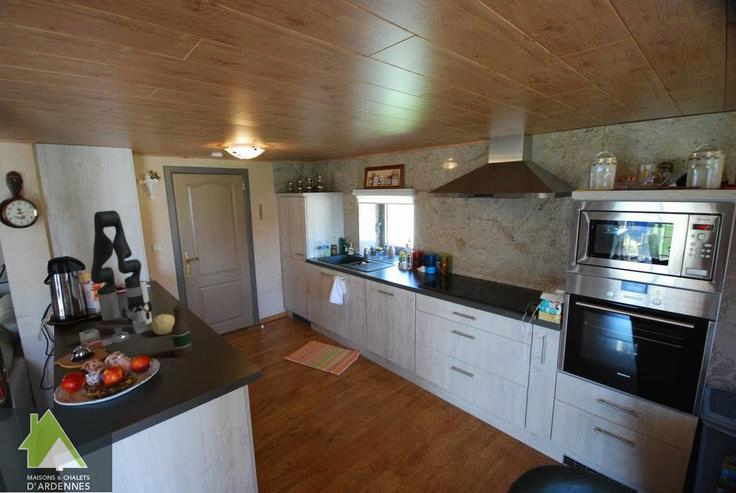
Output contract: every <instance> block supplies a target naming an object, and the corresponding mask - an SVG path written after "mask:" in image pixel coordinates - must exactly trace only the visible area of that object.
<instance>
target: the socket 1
mask: <svg viewBox="0 0 736 493" xmlns="http://www.w3.org/2000/svg"><path fill="white" fill-rule="evenodd" d="M78 334H79V339H80V346H81V345H84V344H88V343H91V342H94V341H98V340H101V336H100V332H99V329H95V328H89V329H86V330H83V331H81V332H79V333H78Z"/></svg>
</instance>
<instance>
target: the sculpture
mask: <svg viewBox="0 0 736 493" xmlns="http://www.w3.org/2000/svg"><path fill="white" fill-rule="evenodd" d="M174 321H175V319H174V315H171V314H165V313H161V314H158V315H157V316H155V317H154V318H152V322H151V327H152V328H151V329H152V331H153V333H155V334H156V335H159V336H165V335H168V334H170V333H172V326H173V325H174Z"/></svg>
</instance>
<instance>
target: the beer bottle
mask: <svg viewBox="0 0 736 493" xmlns="http://www.w3.org/2000/svg"><path fill="white" fill-rule="evenodd" d="M172 310H173V317H174V319H175V321H174V325H173V326H172V332H171V336H172V342H173V343H172V345H173V350H174V355H175V357H180V358H182V357H185V356H189V355H190V354H191V353H192V351H193V350H192V348H193V347H192V341H191V335H190V334H191V332H190V328H189V326H188V324H187V322H185V321H184V317H183V313H182V306H181V305H177V306H173V308H172Z"/></svg>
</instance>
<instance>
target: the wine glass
mask: <svg viewBox="0 0 736 493" xmlns="http://www.w3.org/2000/svg"><path fill="white" fill-rule="evenodd" d="M122 327H123V326H121V325H119V326H115V327H114V334H111V335H110V336H109V338H105V339H102V340H101V339H100V340H98V341H94V342H91V343H88V344H84V345H81V344H80V345H78V346H75V350H76V349H77V348H78V347H80V346H86V347H90V348H97V349H99V348H98V347H100V348H102V347H105V346H108V345H112V344H120V343H123V342H126V341H128V340H129V339H130V335H129V332H128V331H123V328H122Z"/></svg>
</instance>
